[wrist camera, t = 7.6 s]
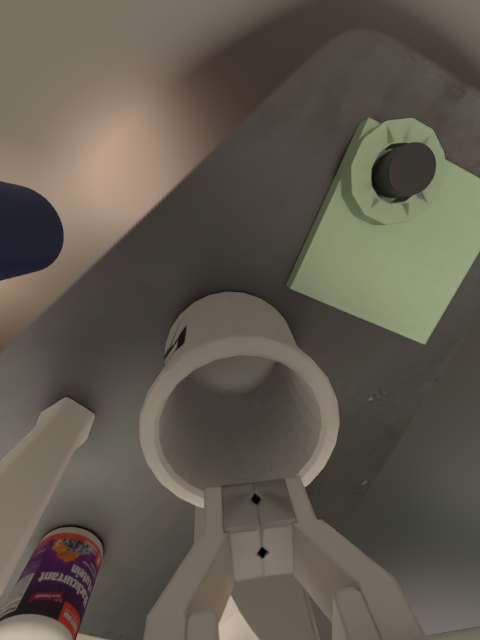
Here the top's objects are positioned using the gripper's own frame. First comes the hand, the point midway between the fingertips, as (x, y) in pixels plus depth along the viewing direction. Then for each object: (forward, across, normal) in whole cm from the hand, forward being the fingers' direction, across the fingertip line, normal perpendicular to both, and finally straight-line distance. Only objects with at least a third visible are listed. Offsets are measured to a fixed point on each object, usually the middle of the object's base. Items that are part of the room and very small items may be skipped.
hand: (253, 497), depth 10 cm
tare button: (+11, -10, -10) cm, 19 cm away
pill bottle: (+14, +14, +17) cm, 27 cm away
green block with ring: (+14, -12, -6) cm, 19 cm away
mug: (+14, 0, +2) cm, 14 cm away
